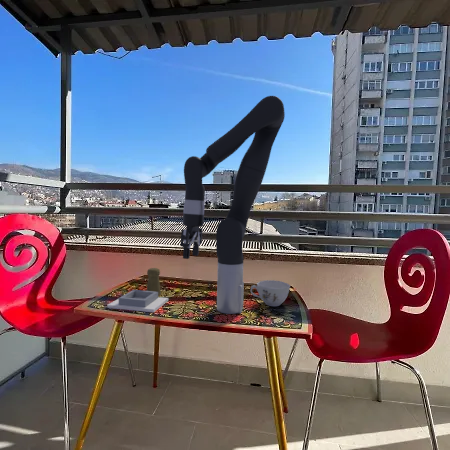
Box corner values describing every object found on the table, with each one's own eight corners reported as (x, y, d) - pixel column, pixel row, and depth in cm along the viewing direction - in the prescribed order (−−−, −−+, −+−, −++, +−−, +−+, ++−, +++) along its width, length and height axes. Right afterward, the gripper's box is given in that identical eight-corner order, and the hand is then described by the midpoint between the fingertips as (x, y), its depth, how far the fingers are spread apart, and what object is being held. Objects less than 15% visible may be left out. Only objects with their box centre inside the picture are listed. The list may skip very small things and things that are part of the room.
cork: (157, 297, 112) (157, 270, 111) (143, 295, 113) (143, 269, 113) (163, 292, 118) (163, 267, 117) (150, 291, 119) (150, 266, 118)
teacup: (288, 299, 112) (289, 280, 112) (290, 311, 100) (291, 289, 99) (251, 297, 115) (251, 278, 114) (248, 307, 102) (249, 286, 102)
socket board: (168, 300, 108) (168, 291, 108) (153, 312, 96) (153, 302, 96) (126, 296, 112) (126, 288, 112) (107, 307, 99) (107, 298, 99)
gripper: (195, 213, 93) (192, 261, 94) (209, 214, 107) (207, 255, 107) (175, 212, 95) (172, 258, 96) (192, 212, 109) (189, 253, 109)
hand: (190, 257), depth 102 cm, fingers open, 8 cm apart
